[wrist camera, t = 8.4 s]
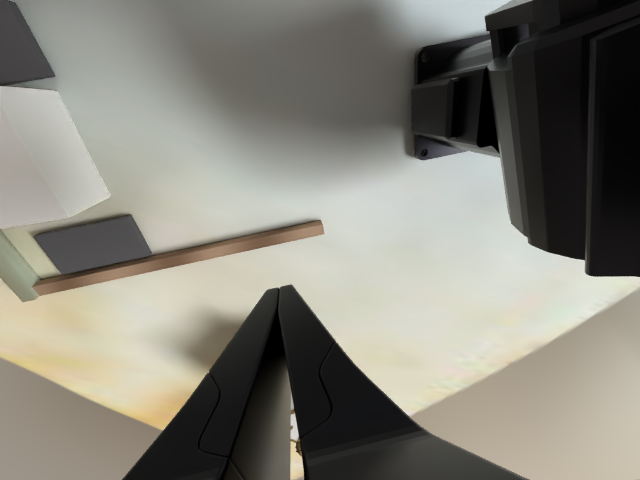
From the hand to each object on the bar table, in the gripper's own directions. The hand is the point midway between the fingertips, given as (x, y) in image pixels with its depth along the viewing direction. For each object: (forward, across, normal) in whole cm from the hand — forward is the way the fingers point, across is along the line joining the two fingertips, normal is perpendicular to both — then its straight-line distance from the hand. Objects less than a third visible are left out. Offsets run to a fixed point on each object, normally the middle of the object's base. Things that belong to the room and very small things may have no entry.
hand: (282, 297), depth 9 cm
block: (+11, +13, -6) cm, 18 cm away
